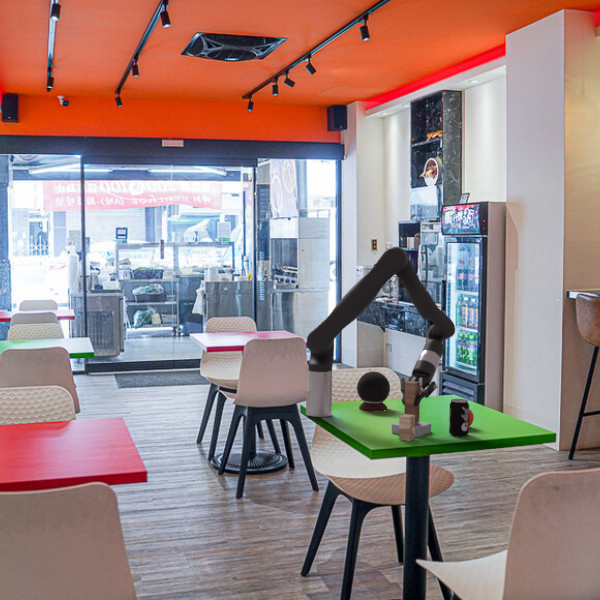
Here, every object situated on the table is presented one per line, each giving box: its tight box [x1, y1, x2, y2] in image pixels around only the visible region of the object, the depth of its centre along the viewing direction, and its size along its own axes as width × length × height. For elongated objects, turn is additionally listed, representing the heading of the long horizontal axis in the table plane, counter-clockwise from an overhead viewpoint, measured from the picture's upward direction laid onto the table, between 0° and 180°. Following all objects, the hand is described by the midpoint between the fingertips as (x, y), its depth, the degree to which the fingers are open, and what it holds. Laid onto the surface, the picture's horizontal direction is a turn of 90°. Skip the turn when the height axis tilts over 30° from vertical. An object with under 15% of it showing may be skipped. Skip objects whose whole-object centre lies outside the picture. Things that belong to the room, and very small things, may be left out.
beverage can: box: [448, 398, 470, 437], centre depth 273 cm, size 7×7×12 cm
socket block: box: [391, 421, 432, 438], centre depth 276 cm, size 10×10×3 cm
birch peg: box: [398, 413, 415, 442], centre depth 265 cm, size 4×4×8 cm
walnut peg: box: [403, 381, 421, 423], centre depth 275 cm, size 4×4×14 cm
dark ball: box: [356, 370, 391, 412], centre depth 317 cm, size 13×13×15 cm
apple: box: [469, 408, 475, 427], centre depth 284 cm, size 8×8×8 cm
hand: (409, 404), depth 274 cm, fingers closed on walnut peg, 3 cm apart
